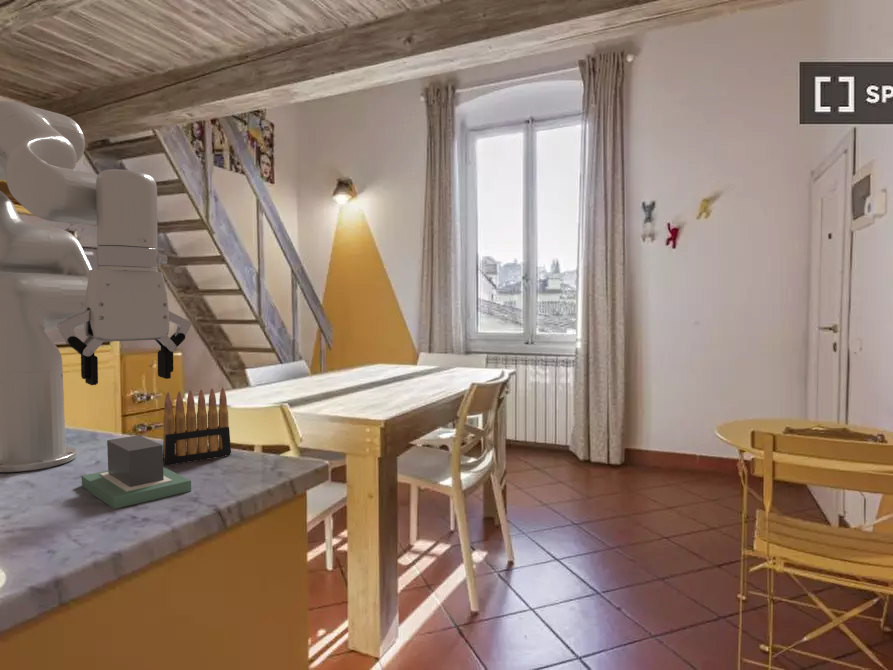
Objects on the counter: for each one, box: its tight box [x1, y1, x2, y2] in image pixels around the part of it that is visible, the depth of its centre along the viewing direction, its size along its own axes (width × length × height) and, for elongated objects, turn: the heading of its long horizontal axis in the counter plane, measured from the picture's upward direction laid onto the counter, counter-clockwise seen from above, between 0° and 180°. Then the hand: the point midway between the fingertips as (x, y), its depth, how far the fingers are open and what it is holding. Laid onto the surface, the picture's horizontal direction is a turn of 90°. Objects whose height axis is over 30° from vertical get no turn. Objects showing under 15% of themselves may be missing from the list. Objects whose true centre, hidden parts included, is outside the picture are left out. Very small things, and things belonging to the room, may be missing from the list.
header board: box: [81, 466, 192, 510], centre depth 84 cm, size 14×10×5 cm
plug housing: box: [106, 434, 164, 487], centre depth 84 cm, size 9×4×5 cm, turn 47°
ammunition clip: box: [162, 387, 232, 466], centre depth 99 cm, size 11×2×12 cm, turn 127°
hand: (129, 380), depth 84 cm, fingers open, 9 cm apart
